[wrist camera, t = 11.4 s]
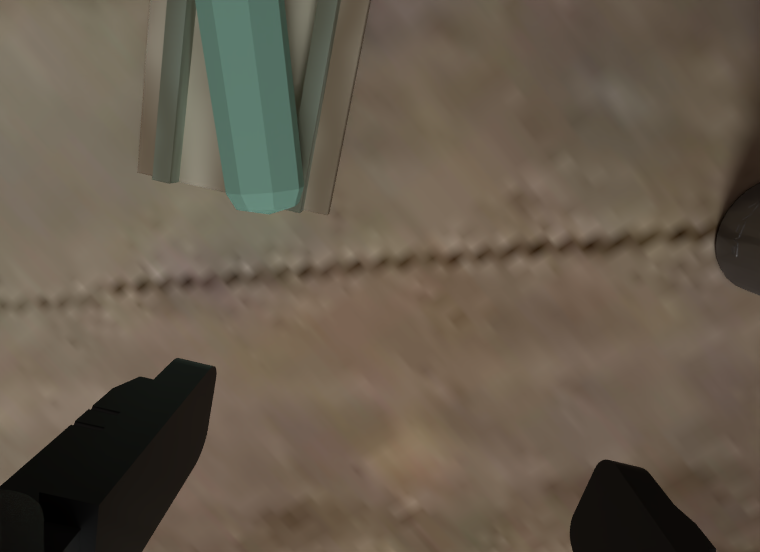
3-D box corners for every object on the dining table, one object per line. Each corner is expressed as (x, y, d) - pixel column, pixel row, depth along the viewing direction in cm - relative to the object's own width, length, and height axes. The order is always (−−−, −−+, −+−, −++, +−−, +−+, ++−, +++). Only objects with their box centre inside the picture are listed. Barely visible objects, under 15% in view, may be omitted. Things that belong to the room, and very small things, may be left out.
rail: (402, -164, 28) (405, -196, 25) (329, 213, 34) (324, 218, 32) (177, -227, 27) (155, -267, 24) (145, 171, 33) (126, 173, 31)
